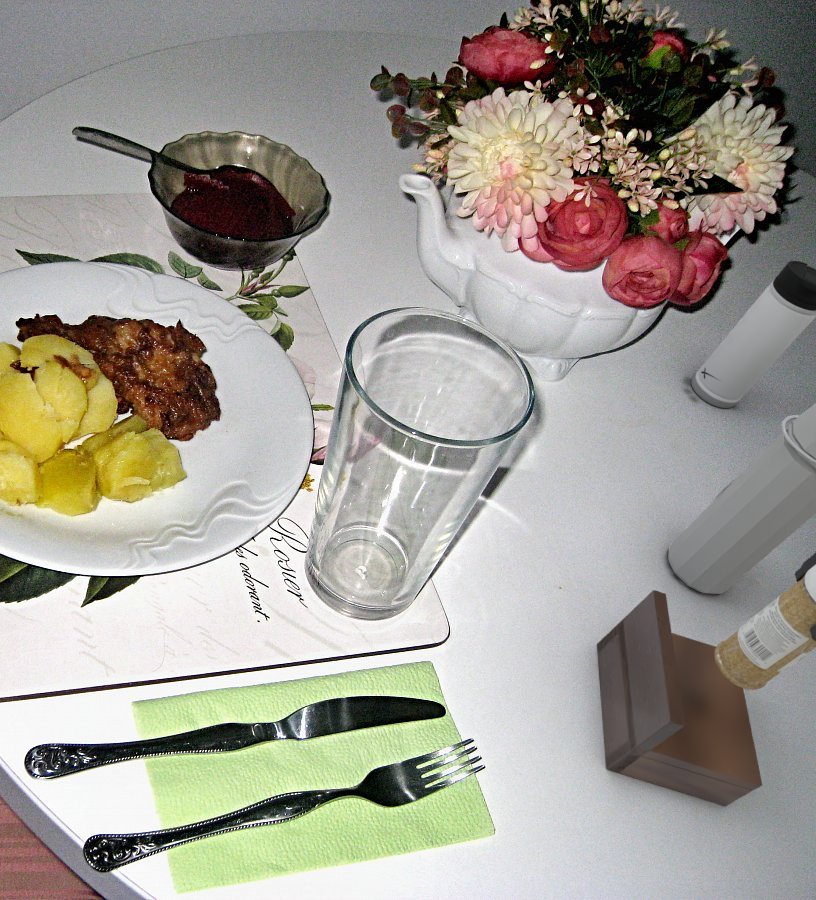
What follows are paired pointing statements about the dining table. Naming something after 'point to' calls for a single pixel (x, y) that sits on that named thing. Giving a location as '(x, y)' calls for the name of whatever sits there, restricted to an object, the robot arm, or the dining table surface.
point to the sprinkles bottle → (771, 637)
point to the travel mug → (759, 337)
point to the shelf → (673, 710)
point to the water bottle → (752, 512)
